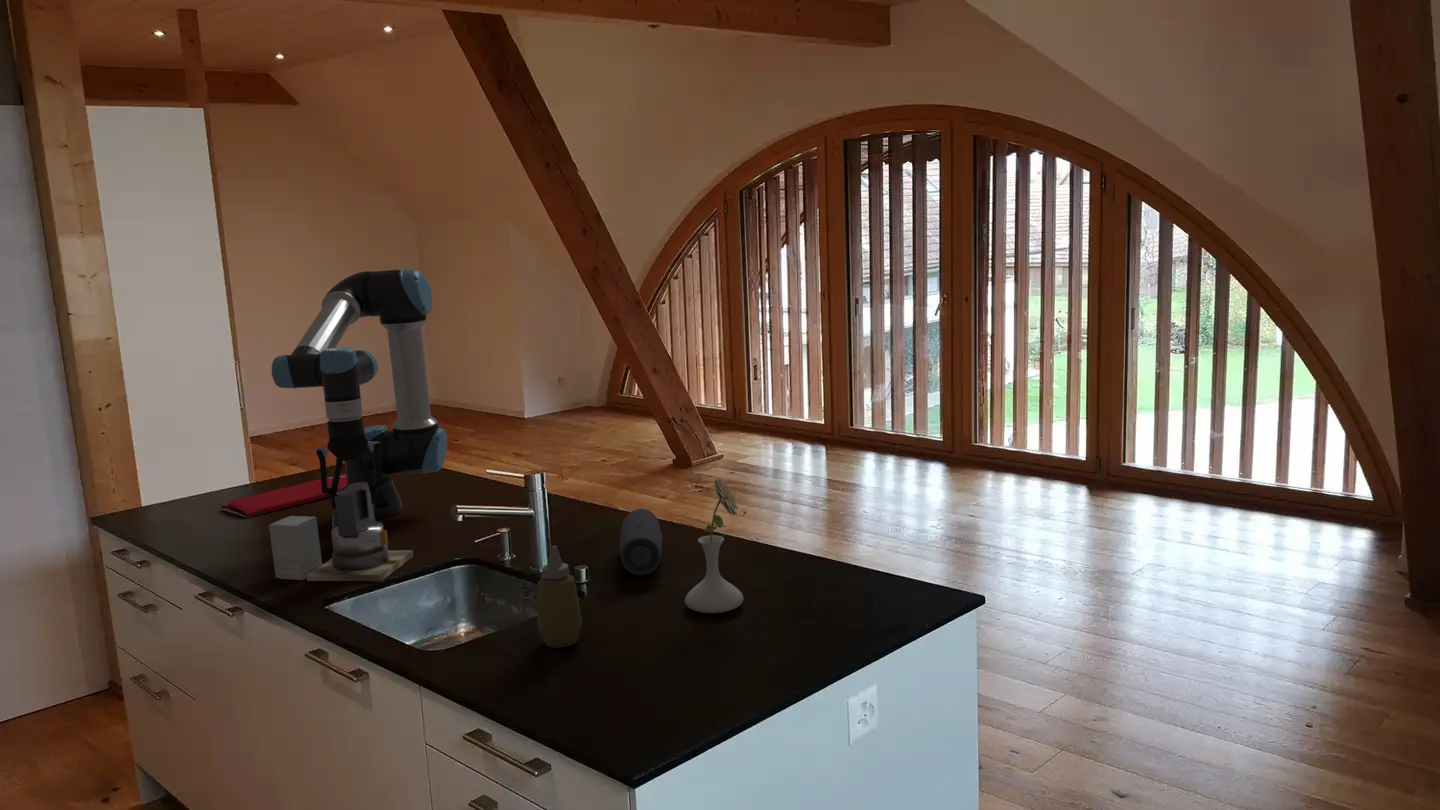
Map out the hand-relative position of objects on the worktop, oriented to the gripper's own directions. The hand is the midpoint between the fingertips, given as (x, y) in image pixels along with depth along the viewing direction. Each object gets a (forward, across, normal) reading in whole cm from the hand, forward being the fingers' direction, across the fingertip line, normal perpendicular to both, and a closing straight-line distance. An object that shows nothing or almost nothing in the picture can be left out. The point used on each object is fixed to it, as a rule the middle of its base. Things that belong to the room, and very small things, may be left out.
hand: (356, 520), depth 239 cm
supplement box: (+12, -13, +3) cm, 18 cm away
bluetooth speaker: (+12, +57, -29) cm, 65 cm away
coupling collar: (+7, 0, 0) cm, 7 cm away
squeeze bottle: (+12, +30, -64) cm, 72 cm away
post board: (+11, 0, 0) cm, 11 cm away
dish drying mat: (+12, -11, +79) cm, 81 cm away
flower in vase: (+12, +62, -61) cm, 88 cm away
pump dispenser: (+12, 0, +21) cm, 24 cm away
